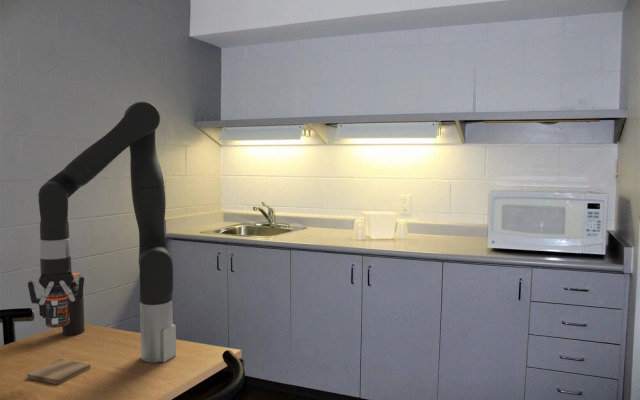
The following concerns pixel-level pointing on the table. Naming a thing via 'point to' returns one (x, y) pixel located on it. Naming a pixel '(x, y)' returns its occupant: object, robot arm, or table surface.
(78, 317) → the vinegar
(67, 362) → the tan board
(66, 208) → the robot arm
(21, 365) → the table surface
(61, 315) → the supplement bottle
